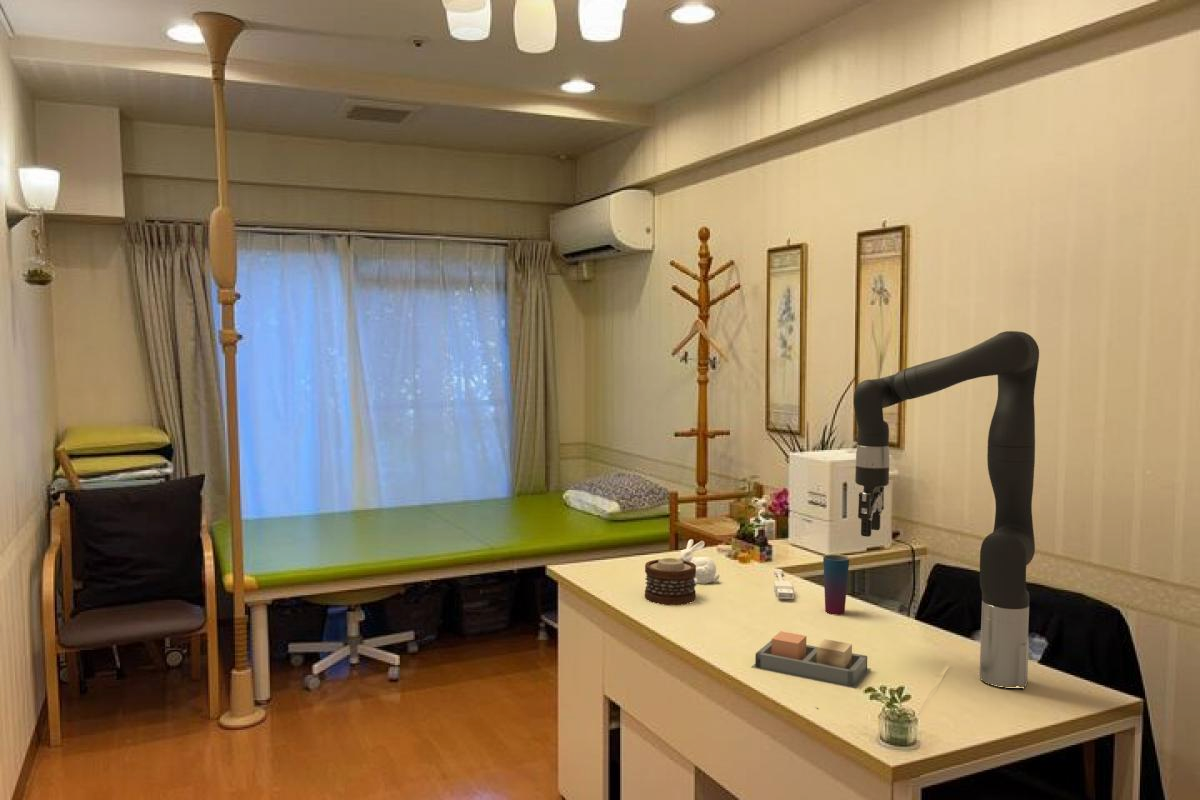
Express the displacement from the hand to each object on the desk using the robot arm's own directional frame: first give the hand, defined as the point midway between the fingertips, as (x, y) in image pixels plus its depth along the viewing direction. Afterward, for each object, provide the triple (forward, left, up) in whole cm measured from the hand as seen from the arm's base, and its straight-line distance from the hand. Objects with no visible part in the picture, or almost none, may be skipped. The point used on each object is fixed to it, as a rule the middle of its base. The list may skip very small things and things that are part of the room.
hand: (870, 532), depth 211 cm
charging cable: (+36, -42, -29) cm, 62 cm away
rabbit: (+60, -34, -28) cm, 75 cm away
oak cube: (+2, +21, -27) cm, 35 cm away
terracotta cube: (+12, +21, -27) cm, 37 cm away
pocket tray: (+7, +21, -28) cm, 36 cm away
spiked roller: (+59, -14, -28) cm, 67 cm away
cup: (+15, -25, -28) cm, 41 cm away
